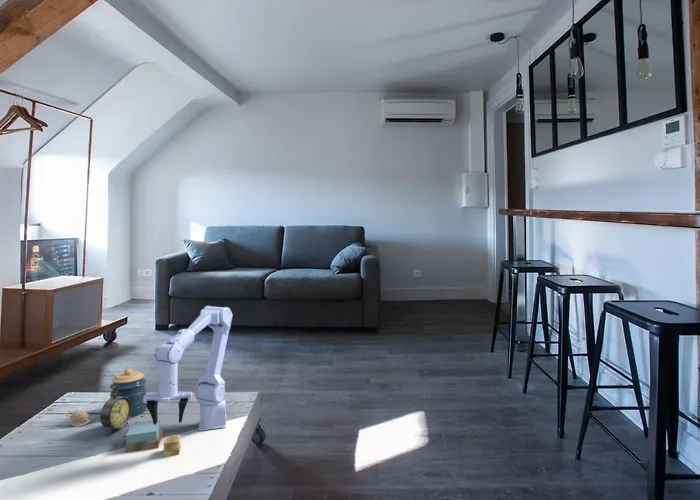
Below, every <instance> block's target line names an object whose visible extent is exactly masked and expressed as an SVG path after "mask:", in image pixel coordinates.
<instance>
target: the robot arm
mask: <svg viewBox="0 0 700 500" xmlns="http://www.w3.org/2000/svg"><path fill="white" fill-rule="evenodd" d="M232 320H233V313H232V310H231V308H230V307H227V306H224V307H222V306H221V307H220V306H211V305H206V306H204V308H203V309H201V310H200V313H199V316H198V317H197V318H196V319H195V320H194V321H193V322H192V323H191V324H190V325H189V326H188V328H182V329H179V330H178V331H177V333H176V334H175V335H174V336H172V337H171V338H170V339H169V340H167V342H166V343H162V344H160V345H158V347H157V348H156V350H155V352H154V354H153V357H154V359H155V360H156V363H157V364H156V365H157V367H158V392H156V393H150V394H146V395H145V396H144V397H143V403H147V405H146V407H147V408H146V410H147V411H148V412H149V414H150V416H151V421H153V424H154V425H156V423H157V420H159V419H158V406H159V405H158V404H159V403H158V402H167V401H178V400H179V402H178V412H179V413H178V424H181V423H182V422H183V419H184V412H185V409H186V406H187V405H188V402H189V400H192V399H193V395H194V397H195V399H196V400H197V402H198V403H199V424H198V431H199V432H201V431H208V430H215V429H217V430H218V429H223V428H226V427H227V426H226V424H227V423H226V422H227V419H228V415H227V414H226V413H227V408H226V406H227V405H226V404H227V403H226V401H227V400H226V399H224V397H225V395H226V391H225V390H226V389H225V386H226V381H225V380H224V379H223V377H221V372H222V368H223V363H224V358H225V352H226V347H227V343H228V337H229V333H230V330H231V326H232V325H231V324H232ZM206 327H209V328H210V329H212V331H213V337H212V339H211V340H212V341H211V346H210V351H209V355H208V360H207V365H206V368H205V373H204V374H203V375H202V376H201V377H199V378H198V382H197V384H196V387H195V388H194V394H193V392H192V391H179V389H178V387H179V385H178V384H179V382H178V381H179V377H178V375H179V374H178V373H179V372H178V371H179V368H178V367H179V366H178V365H179V361H180V360H181V358H182V355H183V353H184V352H185V350H186V349H187V348H188V347H189V346H191V344H193V343H194V341H195V336H196V335H197V334H199V333H200V332H201V331H202V330H203V329H205V328H206Z"/></svg>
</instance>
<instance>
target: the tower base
mask: <svg viewBox="0 0 700 500" xmlns="http://www.w3.org/2000/svg"><path fill="white" fill-rule="evenodd" d="M163 436H164V427H161V426H160V430H159V433H158V437H157V440H153V441H146V442H140V443H133V444H127V442H126V443H125V444H124V453H125V454H126V453H134V452H139V451H148V450H155V449H156V450H157V449H159V447H160V443H161V441H162V439H163V438H162V437H163Z"/></svg>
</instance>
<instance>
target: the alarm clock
mask: <svg viewBox="0 0 700 500" xmlns="http://www.w3.org/2000/svg"><path fill="white" fill-rule="evenodd" d="M114 387H117V386H114ZM114 387H113V388H114ZM113 388H112V390H113ZM110 390H111V389H110ZM112 390H111V391H110V393H111V394H112ZM117 392H118V387H117ZM117 392H116V394H117ZM116 394H112V395H113V396H114V397H112V398H109V399H107V401H105V402H104V404H103V406H102V407H101V411H100V414H99V415H100V416H99V419H100V423H101V425H102V426H103V428H105V429H109V434H108V437H109V436H112V432H113V430H120V429H121V428H123V427H124V426H125V425H129V422H128V421H130V418H131V417H130V416H131V412H132V405H131V402H130V400H129V399H128V398H127V397H116Z"/></svg>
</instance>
